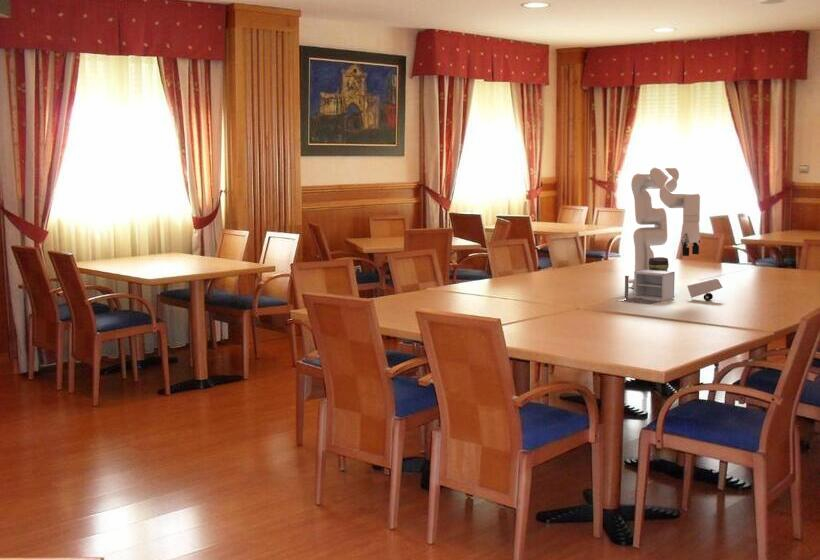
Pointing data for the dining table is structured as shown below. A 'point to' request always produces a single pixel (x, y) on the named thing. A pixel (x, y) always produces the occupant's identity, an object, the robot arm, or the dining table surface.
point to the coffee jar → (658, 264)
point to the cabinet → (654, 285)
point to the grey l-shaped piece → (635, 300)
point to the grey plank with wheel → (704, 288)
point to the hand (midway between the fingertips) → (690, 255)
